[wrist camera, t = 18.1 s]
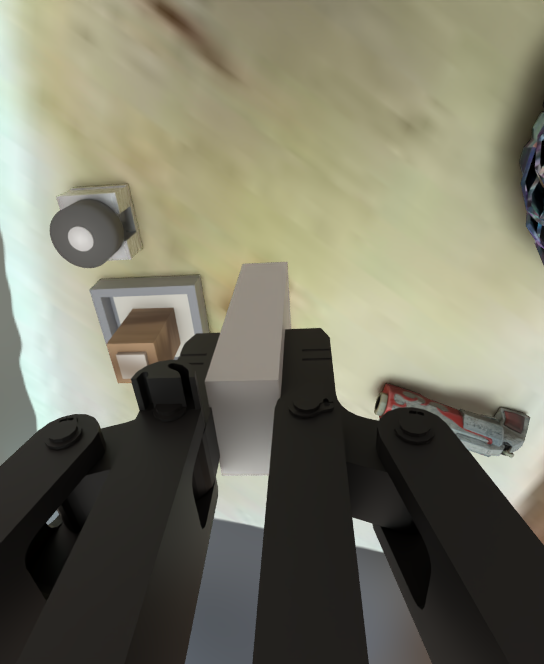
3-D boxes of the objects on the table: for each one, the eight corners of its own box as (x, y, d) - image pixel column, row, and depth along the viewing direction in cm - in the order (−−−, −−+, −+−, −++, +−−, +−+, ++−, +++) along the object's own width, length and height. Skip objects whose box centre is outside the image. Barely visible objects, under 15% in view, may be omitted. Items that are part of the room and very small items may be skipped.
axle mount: (73, 187, 46) (55, 195, 42) (128, 183, 45) (114, 191, 42) (91, 250, 49) (76, 262, 46) (142, 248, 49) (131, 260, 45)
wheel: (70, 194, 45) (39, 209, 40) (126, 190, 45) (102, 205, 39) (87, 249, 48) (60, 270, 43) (139, 246, 48) (118, 267, 42)
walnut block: (132, 308, 51) (104, 347, 44) (173, 307, 51) (151, 346, 43) (141, 344, 54) (115, 386, 46) (180, 343, 53) (161, 385, 46)
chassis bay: (100, 279, 51) (89, 289, 48) (200, 274, 50) (194, 285, 47) (124, 363, 57) (116, 376, 54) (214, 361, 56) (210, 374, 53)
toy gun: (384, 359, 58) (383, 403, 50) (532, 406, 56) (557, 460, 48) (373, 385, 60) (370, 431, 52) (515, 431, 58) (536, 487, 50)
